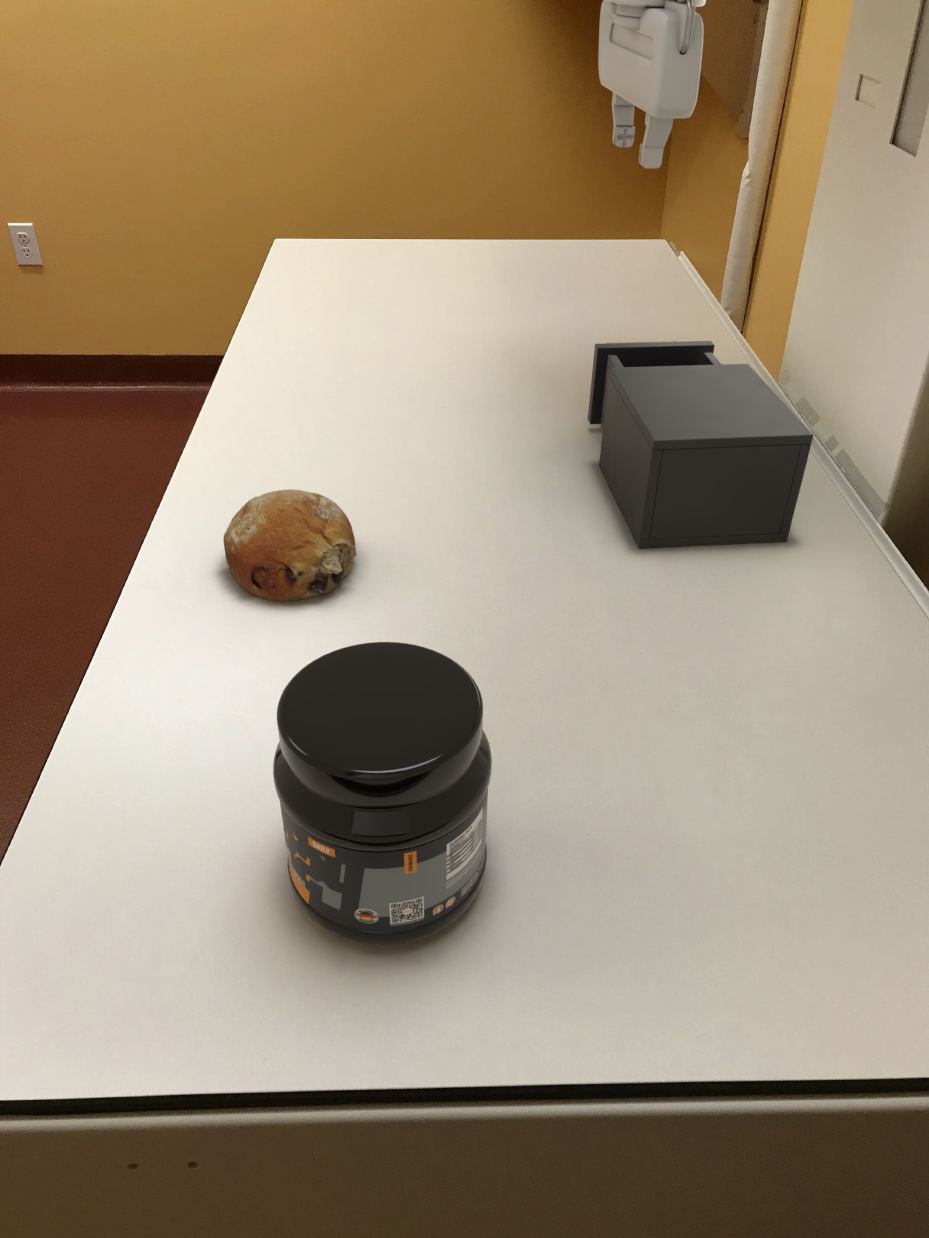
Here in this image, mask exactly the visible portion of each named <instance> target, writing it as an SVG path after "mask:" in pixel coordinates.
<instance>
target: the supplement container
mask: <svg viewBox="0 0 929 1238" xmlns="http://www.w3.org/2000/svg"><path fill="white" fill-rule="evenodd" d="M482 697H483V696H482V693H481V691H480V688H479V686H478V684H477V683H476V681H475V679H474V678H473V677H472V676H471V674H470V673H469V671H467V670H466V669H465V668H464V667H463V666H461V664H459V663H458V662H457V661H455V660H454V659H452V658H451V657H449V656H447V655H445V654H444V653H440V652H438V651H436V650H434V649H431V648H428V647H424V646H422V645H417V644H412V643H406V642H396V641H374V642H373V641H371V642H364V643H358V644H353V645H348V646H344V647H341V648H339V649H336V650H332V651H330V652H327V653H325V654H323V655H321V656H319V657H318V658H316V659H314V660H312V661H311V662H310V663H308V664H306V665H305V666H304V667H302V669H301V668H300V670H299V671H298V672H297V673H296V674H295V675H294V676H293V677H292V678H291V679H290V680H289V681H288V683H287V684H286V685H285V687H284V689H283V691H282V693H281V695H280V697H279V700H278V703H277V708H276V723H277V724H276V725H277V732H278V739H279V741H278V744H277V745H276V748H275V752H274V757H273V761H272V777H273V785H274V789H275V793H276V795H277V798H278V800H279V805H280V812H281V818H282V826H283V834H284V841H285V848H286V854H287V857H286V859H287V861H286V863H287V865H286V866H287V872H288V879H289V883H290V886H291V889H292V892H293V894H294V896H295V899H296V900H297V902H298V904H299V905H300V907H301V908H302V909H303V911H304V912H305V914H307V915H308V916H309V918H311V920H312V921H314V922H315V923H316V924H317V925H318V926H320V928H322V929H324V930H325V931H327V932H328V933H330V934H333V935H334V936H336V937H338V938H341V939H344V940H347V941H349V942H353V943H357V944H363V945H369V946H396V945H397V946H398V945H404V944H409V943H413V942H416V941H420V940H423V939H425V938H428V937H431V936H433V935H434V934H437V933H438V932H441V931H442V930H444V929H445V928H447V927H448V926H450V925H451V924H453V923H454V922H455V921H456V920H458V918H460V917H461V916H462V915H463V914H464V913H465V911H466V910H467V909H468V908H469V907H470V906H471V904H472V903H473V901H474V900H475V898H476V897H477V895H478V893H479V891H480V889H481V887H482V884H483V881H484V878H485V875H486V869H487V862H488V861H487V859H488V850H487V849H488V847H487V827H488V826H487V824H488V823H487V822H488V800H489V799H488V798H489V786H490V781H491V777H492V771H493V770H492V766H493V756H492V750H491V745H490V742H489V740H488V739H489V738H488V737H487V734H486V733H485V730H484V702H483V698H482Z"/></svg>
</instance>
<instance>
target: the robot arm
mask: <svg viewBox="0 0 929 1238" xmlns="http://www.w3.org/2000/svg"><path fill="white" fill-rule="evenodd" d="M706 3H707V0H602V2H601V6H600V13H599V28H598V29H599V30H598V56H597V57H598V58H597V59H598V60H597V66H598V67H597V69H598V77H599V83H600V85H601V86H603V87H604V88H606V89H608V90H609V91H611V92H612V95H611V96H612V97H611V111H612V124H613V128H612V138H611V139H612V140H611V141H612V144H613V145H615V146H616V147H617V148H631V147H632V146H633V145H634V142H635V135H636V134H635V133H636V127H635V126H634V123H635V122H634V121H635V107H637V108H638V109H640V110H642V112H645V119H644V120H645V121H644V125H645V130H644V136H643V139H642V140H643V141H642V143H640V144H639V150H638V160H637V161H638V164H639V165H640V166H642V167H643V168H644V169H646V170H647V169H653V170H655V169H659V168H660V167H661V166H662V164H663V163H662V162H663V157H664V150H665V147H666V144H667V142H668V139H669V137H670V134H671V132H672V130H673V126H674V125H673V124H674V119H688V118H690V117H692V114H693V113H694V110H695V107H696V105H697V103H698V102H697V101H698V95H699V87H700V79H701V69H702V59H703V48H704V21H703V17H702V16H701V14H700V13H698V12H696V8H699V7H704V6H705V5H706Z"/></svg>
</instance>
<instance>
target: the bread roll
mask: <svg viewBox="0 0 929 1238" xmlns="http://www.w3.org/2000/svg"><path fill="white" fill-rule="evenodd" d="M223 547H224V553H225V560H226V563H227V566H228V568H229V571H230V572H231V574H232V576H233V577H234V579H235V581H237V582H238V584H239V585H240V587H242V588H243V590H245V591H246V592H247V593H248V594H251V595H253V596H255V597H258V598H261V599H264V600H267V601H270V602H292V601H293V602H294V601H298V600H305V599H311V598H316V597H318V596H319V595H322V594H328V593H329V592H331V591H332V590H333V589H334V588H335V587H337V586H338V585H339V584H340V582H342V581H343V579H344V578H345V576H347V574H348V573H349V572H350V570H351V568H352V566H353V564H354V560H355V557H356V556H357V547H356V538H355V534H354V531H353V526H352V523H351V522H350V519H349V517H348V516H347V515H346V512H344V511H343V509H342V508H341V507H340V506H339V505H338V504H337V502H335V501H333V500H332V499H331V498H329V497H327V496H324V495H322V494H319V493H317V492H313V491H311V492H310V491H307V490H301V489H293V488H292V489H290V488H289V489H279V490H274V491H269V492H265V493H263V494H261V495H258V496H254V497H253V498H249V500H248V501H247V502H246V503H245V504H243V505H242V506H241V508H240V509H239V510H238V511H237V512H236V513H235V514H234V516H233V517H232V519H231V521H230V522H229V524H228V526H227V528H226V530H225V532H224V534H223Z"/></svg>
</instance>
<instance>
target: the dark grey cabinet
mask: <svg viewBox="0 0 929 1238" xmlns="http://www.w3.org/2000/svg"><path fill="white" fill-rule="evenodd" d="M813 438H814V434H813V433H812V432H811V431H810V430H809V428H808V427H807V426H806V425H805V424H804V423H803V422H802V421H801V420H800V419H799V417H798V416H797V415H796V414H795V413H794V412H793V411H792V409H790V408H789V407H788V406H787V404H785V403H784V401H783V400H782V399H781V398H780V397H779V396H778V395H777V394H776V393H775V391H774V390H773V389H772V388H771V387H770V386H769V385H768V384H767V383H766V382H765V381H764V379H762V377H761V376H760V375H759V374H758V373H757V372H756V371H755V370H754V368H753V367H752V366H751V365H750V364H749V363H733V364H732V363H729V364H726V363H725V364H722V365H687V366H651V367H614V368H610V370H609V379H608V388H607V397H606V407H605V416H604V425H603V431H602V436H601V444H600V452H599V453H600V454H599V455H600V456H599V463H598V467H599V469H600V471H601V473H602V474H603V477H604V479H605V481H606V484H607V485H608V487H609V489H610V491H611V494H612V495H613V498H614V500H615V503H616V504H617V506H618V508H619V510H620V513H621V515H622V517H623V519H624V521H625V523H626V525H627V528H628V529H629V531H630V533H631V535H632V538H633V540H634V542H635V544H636V546H637V548H638V549H652V548H677V547H695V546H717V545H719V546H720V545H737V544H739V545H740V544H742V545H743V544H761V543H762V544H763V543H782V542H783V543H784V542H788V539H789V534H790V531H791V527H792V523H793V519H794V516H795V512H796V511H795V510H796V506H797V502H798V499H799V495H800V491H801V487H802V483H803V479H804V475H805V471H806V467H807V464H808V463H807V462H808V459H809V455H810V451H811V447H812V444H813V440H814V439H813Z"/></svg>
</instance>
